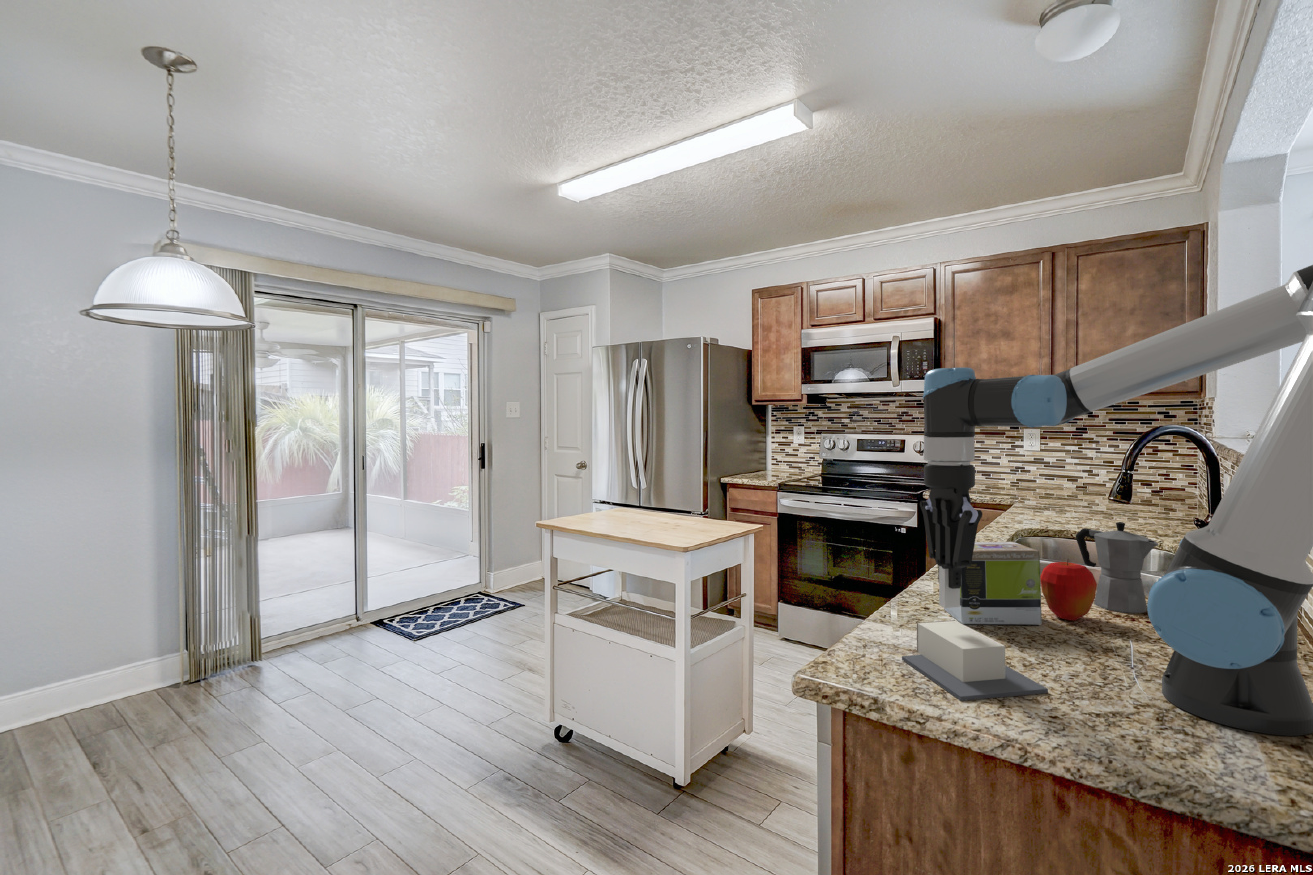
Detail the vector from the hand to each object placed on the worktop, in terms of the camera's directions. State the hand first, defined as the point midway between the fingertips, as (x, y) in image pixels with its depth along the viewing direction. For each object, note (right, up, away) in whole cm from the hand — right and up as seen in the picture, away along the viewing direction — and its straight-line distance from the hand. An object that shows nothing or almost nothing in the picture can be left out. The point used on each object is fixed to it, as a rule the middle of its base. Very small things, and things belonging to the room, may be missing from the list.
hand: (949, 605), depth 98 cm
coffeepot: (+49, -8, +29) cm, 58 cm away
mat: (+1, -10, -5) cm, 11 cm away
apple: (+34, -9, +21) cm, 41 cm away
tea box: (+19, -9, +22) cm, 31 cm away
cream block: (0, -6, +4) cm, 7 cm away
